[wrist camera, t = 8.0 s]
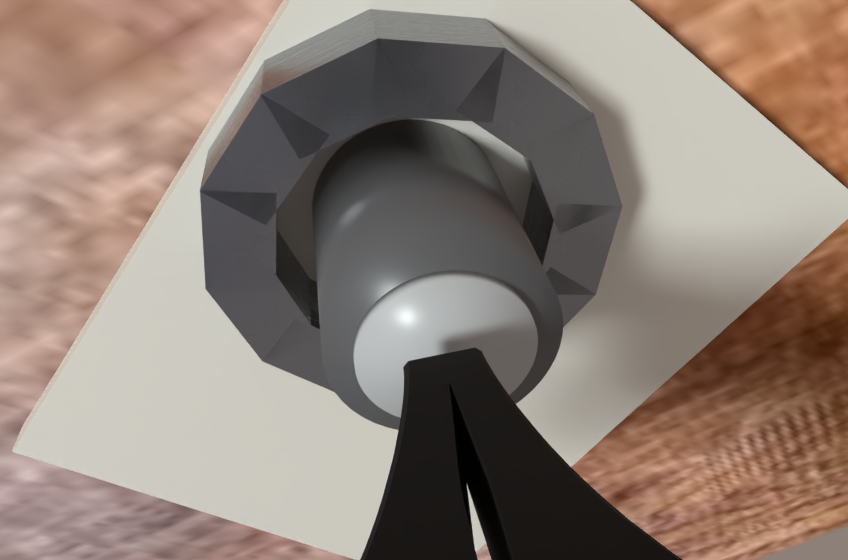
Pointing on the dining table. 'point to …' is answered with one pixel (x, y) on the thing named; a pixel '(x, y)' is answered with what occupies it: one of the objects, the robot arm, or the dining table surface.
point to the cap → (424, 267)
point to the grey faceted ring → (373, 103)
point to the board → (628, 255)
